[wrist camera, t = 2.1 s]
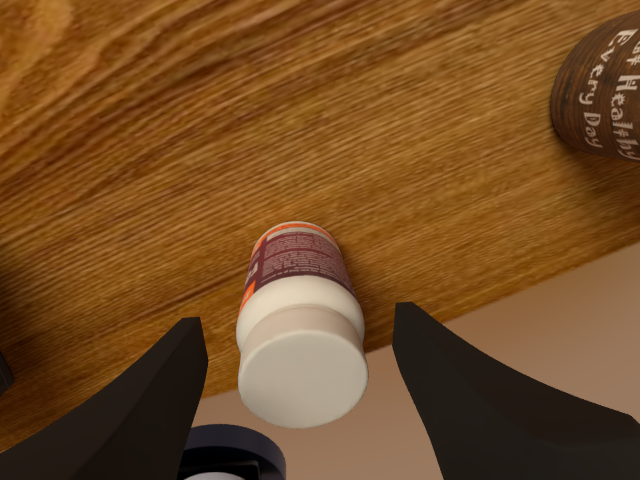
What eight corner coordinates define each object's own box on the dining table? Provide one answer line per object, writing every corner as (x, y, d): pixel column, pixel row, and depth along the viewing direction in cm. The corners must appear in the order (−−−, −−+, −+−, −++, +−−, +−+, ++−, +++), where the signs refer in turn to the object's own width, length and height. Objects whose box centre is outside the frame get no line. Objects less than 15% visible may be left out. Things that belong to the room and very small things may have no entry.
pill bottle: (241, 227, 17) (203, 336, 9) (334, 212, 17) (376, 306, 9) (261, 305, 19) (243, 451, 11) (345, 291, 19) (386, 424, 11)
